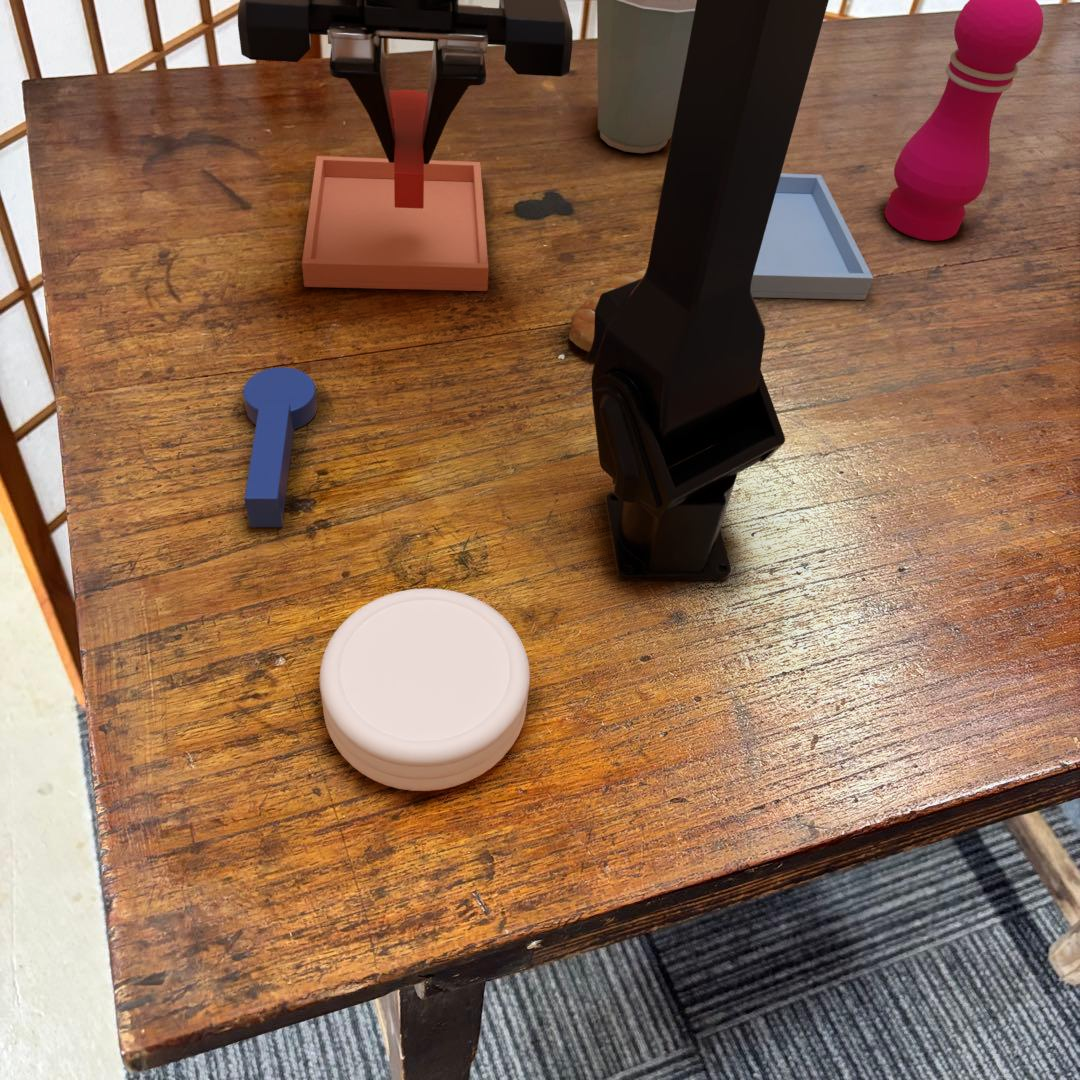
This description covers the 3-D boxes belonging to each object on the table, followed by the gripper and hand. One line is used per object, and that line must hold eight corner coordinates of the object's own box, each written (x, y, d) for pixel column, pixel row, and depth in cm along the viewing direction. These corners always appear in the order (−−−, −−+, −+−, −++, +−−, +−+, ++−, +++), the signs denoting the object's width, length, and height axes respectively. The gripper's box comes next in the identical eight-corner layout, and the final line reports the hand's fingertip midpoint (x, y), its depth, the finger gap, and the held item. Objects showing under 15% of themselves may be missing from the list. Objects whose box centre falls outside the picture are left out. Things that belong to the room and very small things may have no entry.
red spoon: (444, 209, 64) (445, 174, 62) (373, 207, 63) (372, 171, 62) (440, 113, 72) (440, 79, 70) (377, 110, 71) (376, 76, 70)
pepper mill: (930, 254, 83) (1039, -6, 68) (861, 213, 87) (950, -42, 72) (980, 228, 86) (1094, -24, 72) (911, 190, 90) (1007, -58, 75)
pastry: (607, 380, 69) (615, 334, 66) (545, 330, 72) (549, 284, 69) (704, 334, 73) (715, 289, 70) (641, 289, 77) (649, 244, 74)
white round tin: (472, 600, 56) (474, 558, 53) (561, 745, 50) (568, 707, 47) (295, 665, 52) (288, 623, 49) (369, 829, 46) (366, 792, 44)
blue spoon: (305, 527, 58) (301, 498, 56) (226, 527, 58) (219, 498, 56) (319, 386, 66) (316, 357, 64) (250, 385, 66) (245, 356, 64)
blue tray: (865, 300, 78) (873, 277, 76) (697, 296, 76) (702, 273, 75) (814, 195, 88) (821, 174, 86) (665, 190, 86) (669, 168, 85)
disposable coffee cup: (560, 148, 90) (579, -36, 79) (594, 99, 97) (616, -77, 86) (677, 176, 88) (713, -8, 77) (702, 124, 95) (739, -52, 84)
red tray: (487, 291, 75) (488, 267, 73) (304, 287, 73) (301, 263, 72) (479, 184, 85) (480, 161, 83) (318, 178, 83) (316, 155, 82)
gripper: (567, -150, 60) (541, 106, 72) (242, -177, 58) (271, 93, 70) (588, -81, 53) (556, 191, 65) (219, -108, 51) (255, 179, 62)
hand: (409, 160), depth 66 cm, fingers closed on red spoon, 2 cm apart
